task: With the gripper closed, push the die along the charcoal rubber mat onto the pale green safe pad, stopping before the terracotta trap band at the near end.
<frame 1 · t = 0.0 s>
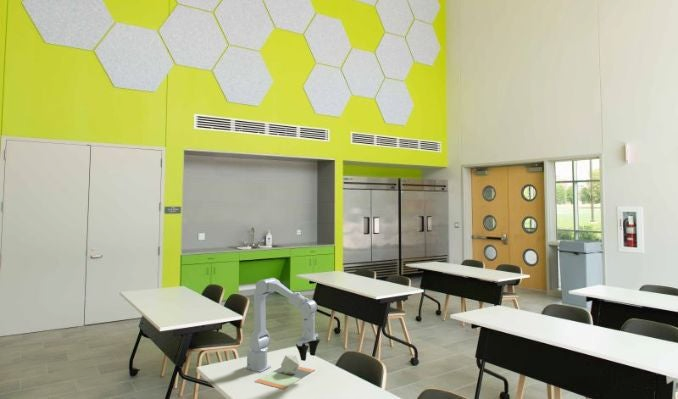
hand: (307, 357, 187), 10 cm above the table, tool pointing down, fingers open, 7 cm apart
die: (290, 373, 195), resting on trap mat
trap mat: (285, 375, 192), on the table
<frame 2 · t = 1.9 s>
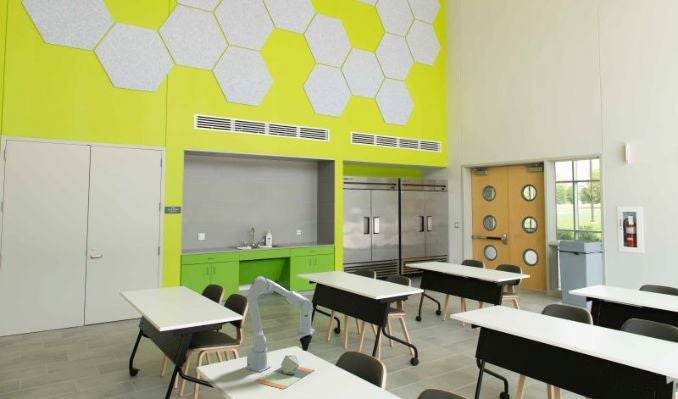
hand: (305, 350, 206), 7 cm above the table, tool pointing down, fingers closed
nothing on the table moved.
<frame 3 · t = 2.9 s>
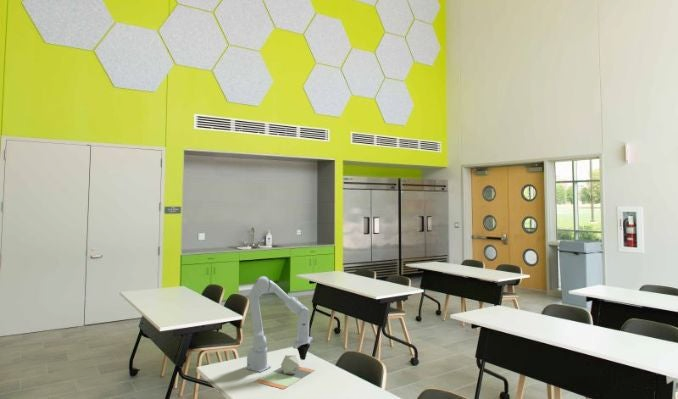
hand: (302, 359, 204), 3 cm above the table, tool pointing down, fingers closed
nothing on the table moved.
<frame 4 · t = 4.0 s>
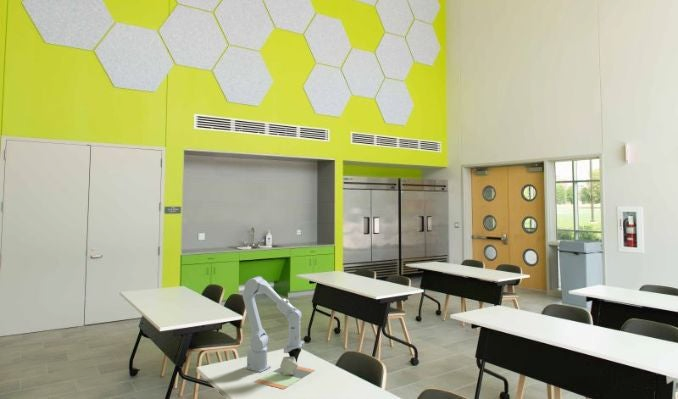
hand: (294, 364, 198), 3 cm above the table, tool pointing down, fingers closed
die: (288, 374, 193), resting on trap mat, touching gripper
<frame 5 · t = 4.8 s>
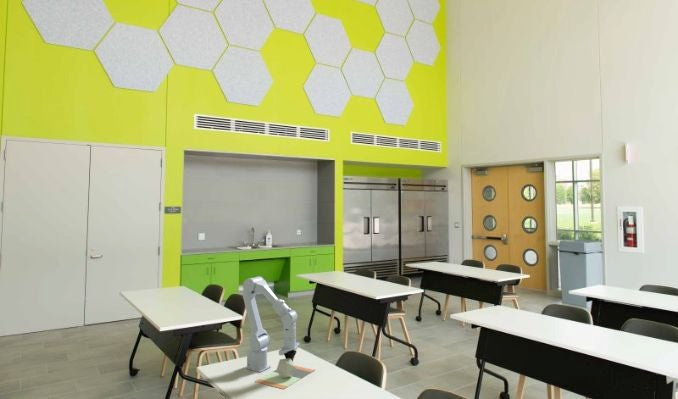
hand: (289, 366, 194), 4 cm above the table, tool pointing down, fingers closed, pressing on die
die: (286, 376, 190), resting on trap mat, touching gripper
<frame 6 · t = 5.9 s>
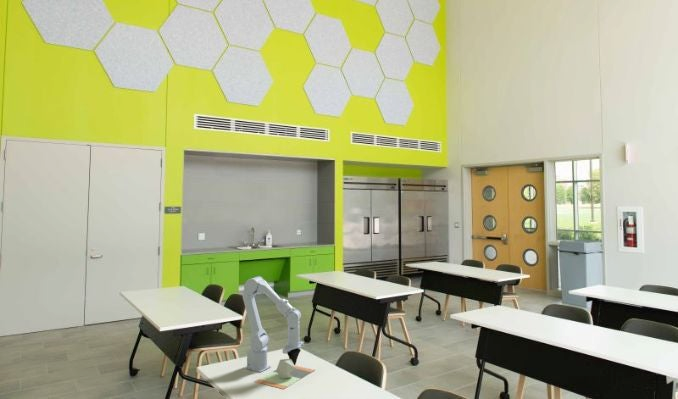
hand: (293, 364, 197), 3 cm above the table, tool pointing down, fingers closed
die: (285, 377, 190), resting on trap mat
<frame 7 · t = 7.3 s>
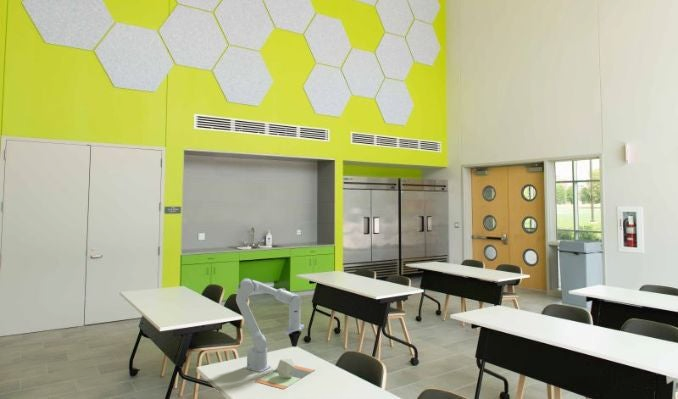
hand: (294, 346, 206), 9 cm above the table, tool pointing down, fingers closed
nothing on the table moved.
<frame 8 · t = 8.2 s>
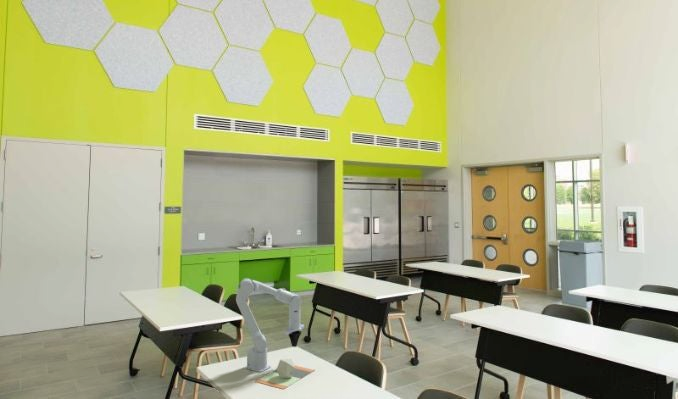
hand: (294, 346, 206), 9 cm above the table, tool pointing down, fingers closed
nothing on the table moved.
at the end: die inside the target area (3.4 cm from its centre), resting on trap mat; die tilted 0°; die moved 5.3 cm from its start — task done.
